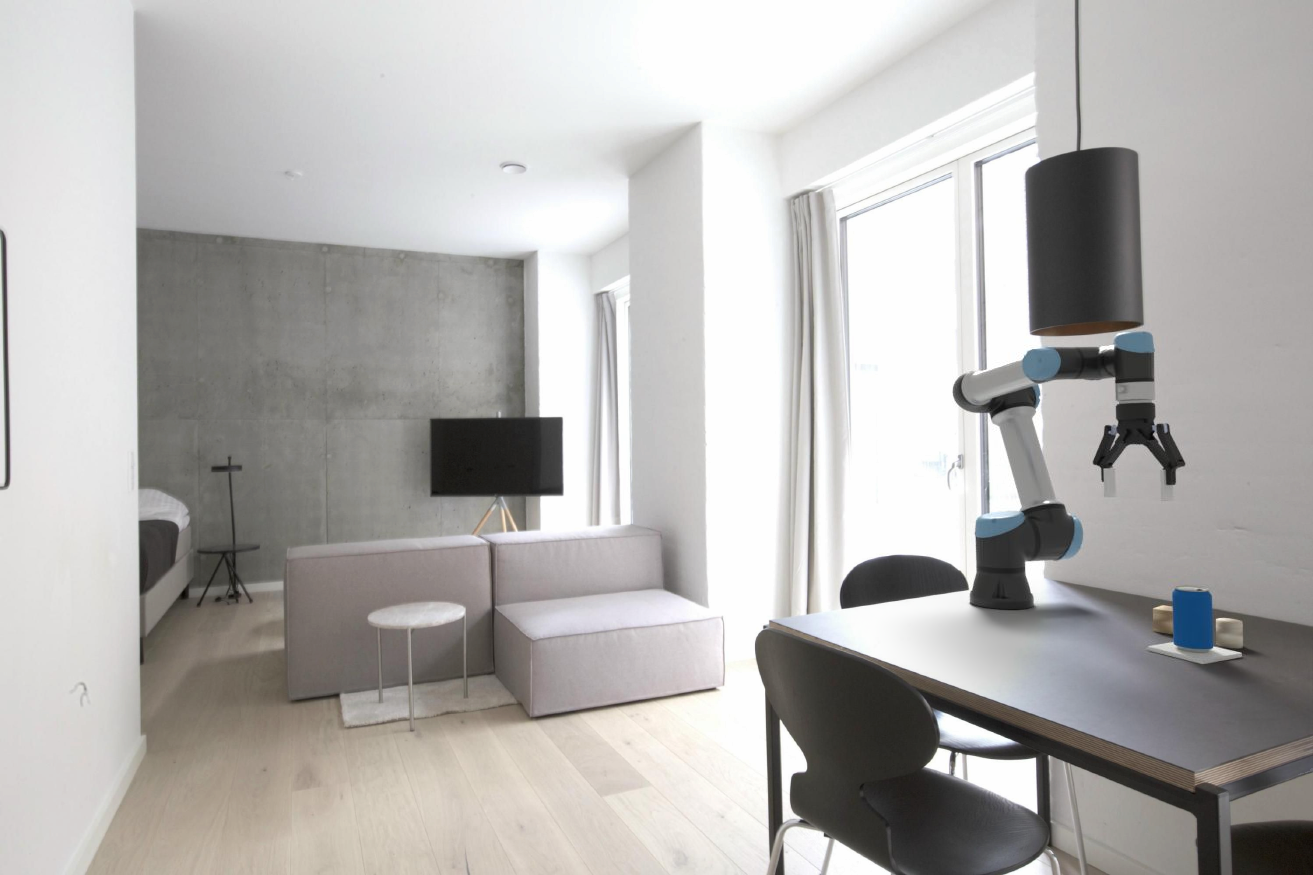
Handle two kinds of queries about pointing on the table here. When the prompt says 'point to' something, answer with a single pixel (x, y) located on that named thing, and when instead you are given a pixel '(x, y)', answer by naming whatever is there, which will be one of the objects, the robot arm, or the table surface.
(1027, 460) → the robot arm
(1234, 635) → the birch cylinder
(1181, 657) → the pad
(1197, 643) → the beverage can
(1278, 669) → the table surface
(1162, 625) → the oak cube
